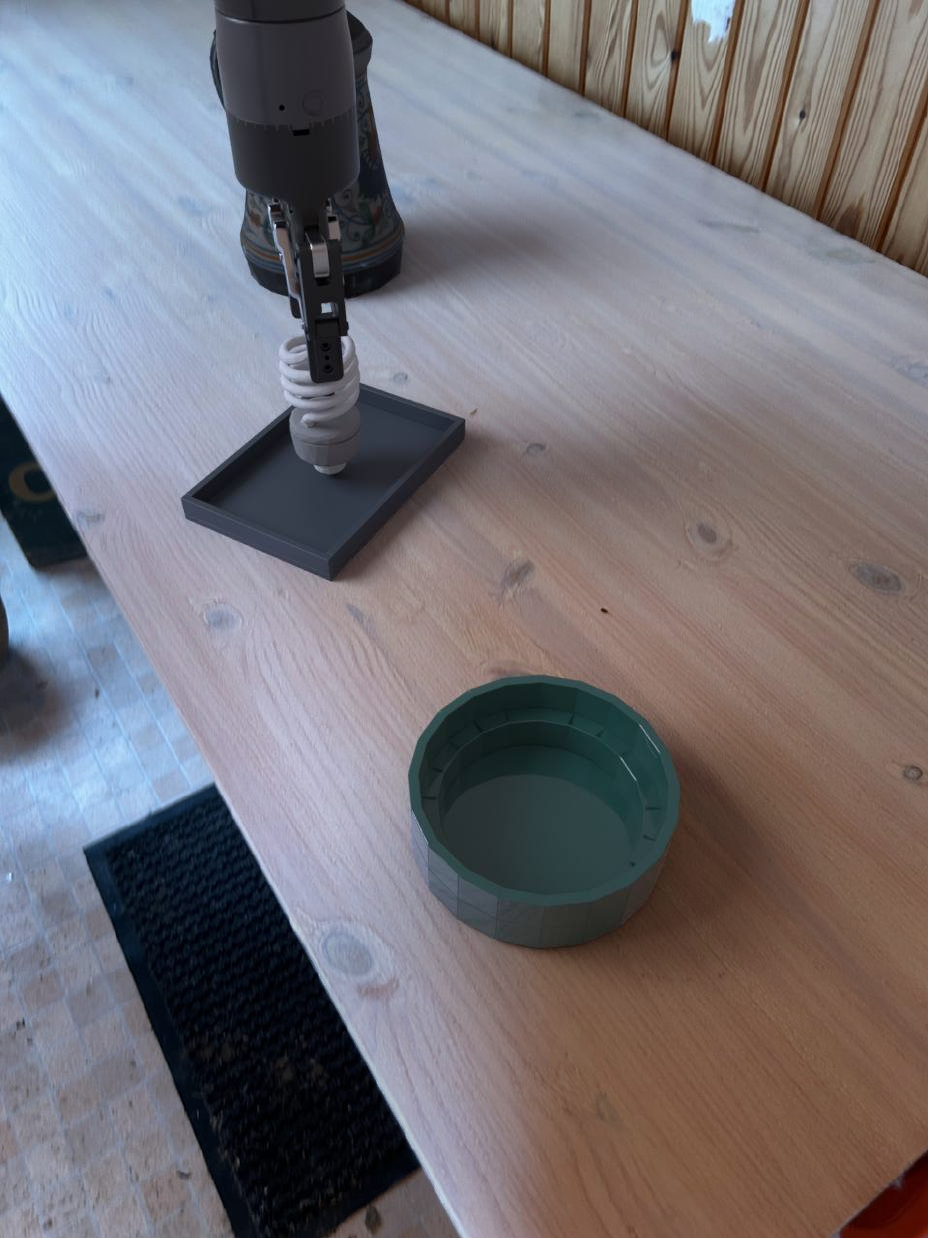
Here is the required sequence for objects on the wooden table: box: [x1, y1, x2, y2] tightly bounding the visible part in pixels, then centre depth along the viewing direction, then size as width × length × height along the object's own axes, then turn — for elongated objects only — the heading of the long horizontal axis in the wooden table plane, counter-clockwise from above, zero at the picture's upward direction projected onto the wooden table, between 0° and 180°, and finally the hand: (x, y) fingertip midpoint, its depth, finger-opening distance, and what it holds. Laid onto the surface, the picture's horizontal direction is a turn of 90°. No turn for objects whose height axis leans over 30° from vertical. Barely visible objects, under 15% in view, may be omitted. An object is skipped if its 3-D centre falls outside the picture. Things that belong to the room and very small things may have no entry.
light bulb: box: [278, 333, 362, 475], centre depth 71 cm, size 6×6×12 cm
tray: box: [180, 382, 466, 582], centre depth 75 cm, size 19×13×2 cm
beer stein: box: [209, 9, 406, 299], centre depth 90 cm, size 16×19×25 cm
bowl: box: [407, 674, 681, 949], centre depth 53 cm, size 14×14×5 cm
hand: (316, 346), depth 67 cm, fingers open, 8 cm apart
